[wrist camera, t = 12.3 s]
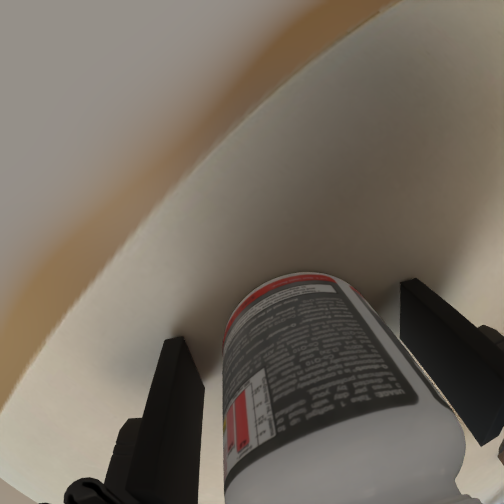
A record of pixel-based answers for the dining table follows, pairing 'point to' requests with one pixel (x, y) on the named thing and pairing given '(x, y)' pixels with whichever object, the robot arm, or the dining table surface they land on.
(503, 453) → the cabinet
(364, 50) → the dining table surface
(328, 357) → the pill bottle
